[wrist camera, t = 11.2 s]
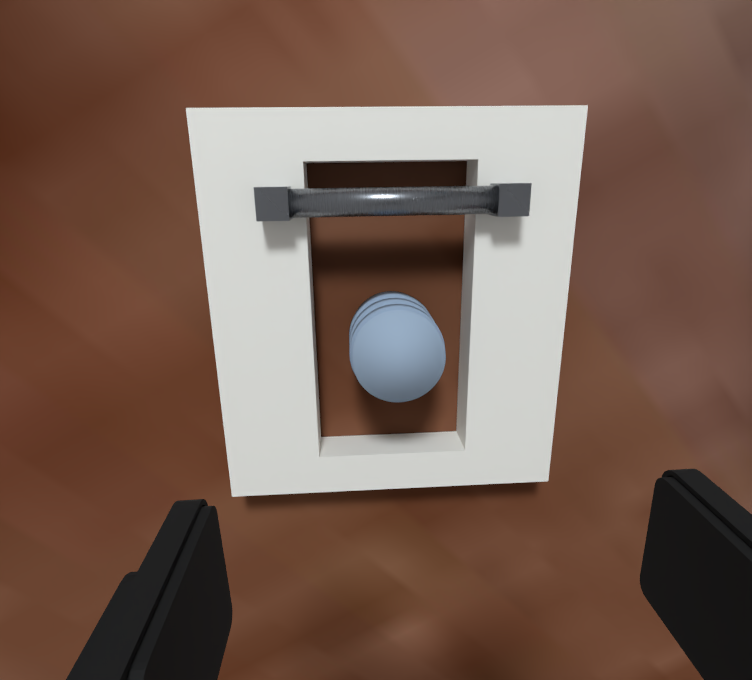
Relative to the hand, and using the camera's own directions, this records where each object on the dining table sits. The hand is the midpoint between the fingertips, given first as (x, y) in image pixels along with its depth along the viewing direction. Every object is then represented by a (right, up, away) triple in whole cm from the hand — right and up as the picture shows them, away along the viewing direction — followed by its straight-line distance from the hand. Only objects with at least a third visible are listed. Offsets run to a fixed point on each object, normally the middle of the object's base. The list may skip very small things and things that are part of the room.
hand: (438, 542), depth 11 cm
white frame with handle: (-1, +6, +20) cm, 21 cm away
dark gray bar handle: (-1, +12, +16) cm, 19 cm away
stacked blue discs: (0, +5, +20) cm, 21 cm away
